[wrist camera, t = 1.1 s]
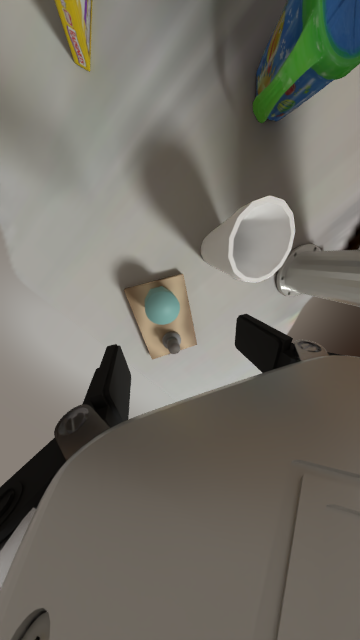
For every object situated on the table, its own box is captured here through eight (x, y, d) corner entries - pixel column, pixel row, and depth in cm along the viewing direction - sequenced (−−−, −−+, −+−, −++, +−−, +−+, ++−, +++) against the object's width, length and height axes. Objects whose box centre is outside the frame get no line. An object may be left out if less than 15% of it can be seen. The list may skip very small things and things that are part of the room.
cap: (170, 282, 28) (175, 287, 23) (177, 310, 31) (182, 319, 26) (140, 290, 27) (139, 297, 23) (150, 318, 30) (151, 328, 26)
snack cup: (249, 167, 24) (311, 115, 15) (218, 87, 20) (280, -56, 11) (324, 88, 22) (445, -25, 13) (308, -23, 18) (479, -313, 9)
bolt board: (181, 273, 29) (189, 276, 24) (195, 341, 37) (202, 354, 32) (124, 288, 28) (120, 295, 23) (151, 355, 36) (153, 371, 31)
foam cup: (184, 256, 28) (213, 255, 16) (211, 210, 26) (265, 172, 14) (217, 280, 32) (259, 294, 20) (243, 242, 30) (306, 233, 18)
